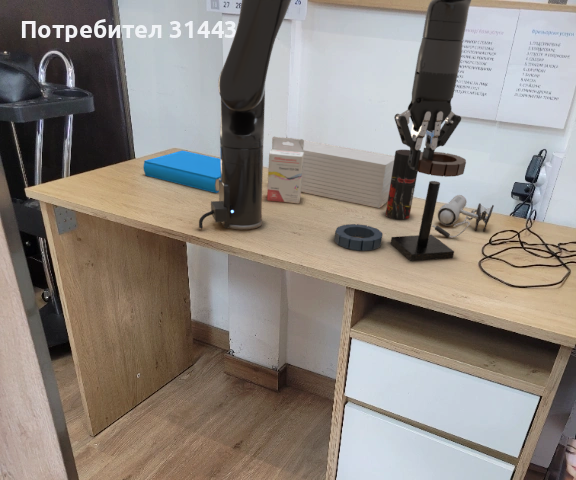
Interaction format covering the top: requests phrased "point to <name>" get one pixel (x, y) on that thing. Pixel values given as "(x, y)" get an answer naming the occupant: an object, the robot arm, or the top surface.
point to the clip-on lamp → (452, 211)
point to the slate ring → (364, 244)
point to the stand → (424, 234)
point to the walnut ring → (442, 165)
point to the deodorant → (401, 187)
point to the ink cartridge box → (285, 170)
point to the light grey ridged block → (346, 173)
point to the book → (186, 170)
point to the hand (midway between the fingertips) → (418, 168)
